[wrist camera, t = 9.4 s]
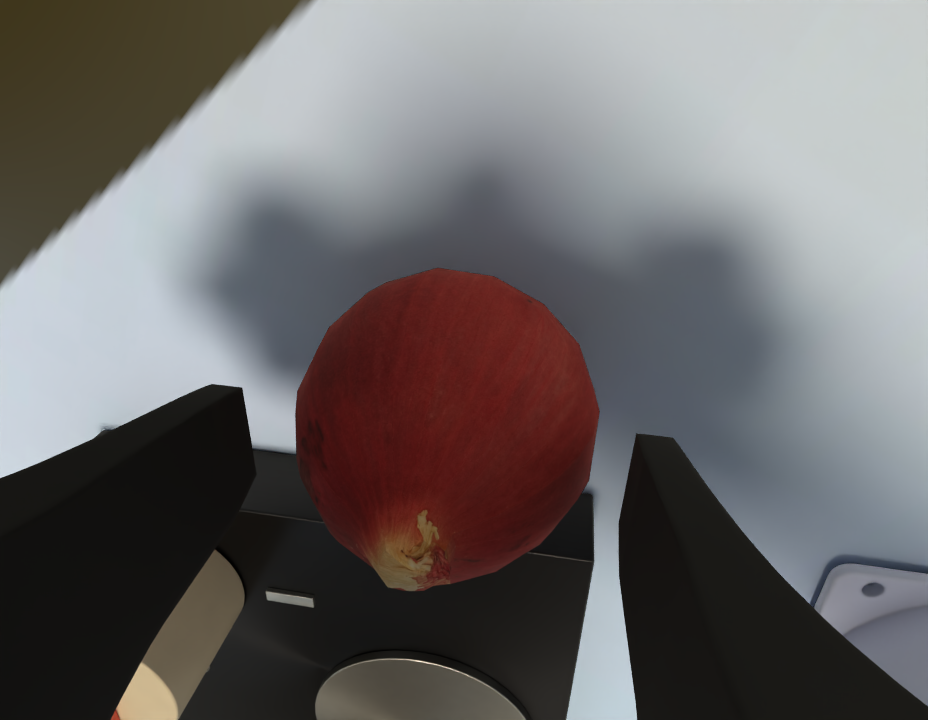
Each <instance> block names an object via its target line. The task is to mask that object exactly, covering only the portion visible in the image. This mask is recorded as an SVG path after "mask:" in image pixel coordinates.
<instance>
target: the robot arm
mask: <svg viewBox="0 0 928 720" xmlns="http://www.w3.org/2000/svg"><path fill="white" fill-rule="evenodd" d="M256 475H257V473H256V467H255V461H254V455H253V449H252V443H251V437H250V431H249V425H248V419H247V414H246V408H245V402H244V396H243V390H242V388H241V387H232V386H224V385H215V384H211V385H208V386H206V387H203V388H200V389H198V390H196V391H193V392H191V393H189V394H187V395H184V396H182V397H180V398H178V399H176V400H174V401H172V402H169V403H167V404H165V405H163V406H161V407H159V408H157V409H155V410H153V411H151V412H149V413H147V414H145V415H143V416H141V417H138V418H136V419H134V420H132V421H130V422H128V423H126V424H124V425H122V426H120V427H118V428H116V429H114V430H112V431H109V432H107V433H105V434H103V435H101V436H99V437H97V438H94V439H92V440H90V441H88V442H85V443H83V444H81V445H79V446H76V447H74V448H72V449H70V450H67V451H65V452H63V453H61V454H58V455H56V456H54V457H52V458H49V459H47V460H45V461H43V462H40V463H38V464H35V465H33V466H31V467H28V468H26V469H23V470H21V471H18V472H15V473H13V474H10V475H8V476H5V477H2V478H0V720H111V718H112V716H113V714H114V712H115V710H116V708H117V706H118V704H119V702H120V700H121V698H122V697H123V695H124V693H125V691H126V689H127V687H128V686H129V684H130V682H131V680H132V678H133V676H134V675H135V673H136V671H137V669H138V667H139V665H140V664H141V662H142V660H143V658H144V656H145V655H146V653H147V651H148V649H149V647H150V645H151V644H152V642H153V641H154V639H155V637H156V636H157V634H158V633H159V631H160V629H161V628H162V626H163V625H164V623H165V621H166V620H167V619H168V617H169V616H170V614H171V613H172V611H173V610H174V608H175V607H176V605H177V604H178V603H179V601H180V600H181V598H182V597H183V595H184V594H185V592H186V591H187V589H188V588H189V586H190V585H191V584H192V582H193V581H194V579H195V578H196V576H197V575H198V573H199V572H200V570H201V569H202V568H203V566H204V565H205V563H206V562H207V560H208V559H209V557H210V556H211V554H212V553H213V551H214V550H215V548H216V547H217V545H218V544H219V543H220V541H221V540H222V538H223V537H224V535H225V534H226V532H227V531H228V529H229V527H230V526H231V524H232V523H233V521H234V520H235V518H236V516H237V514H238V512H239V510H240V508H241V506H242V504H243V502H244V500H245V498H246V496H247V494H248V492H249V490H250V488H251V486H252V483H253V481H254V479H255V477H256ZM619 578H620V586H621V594H622V602H623V610H624V618H625V625H626V633H627V640H628V648H629V655H630V663H631V670H632V678H633V685H634V693H635V700H636V710H637V720H928V574H925V573H918V572H910V571H903V570H896V569H889V568H882V567H874V566H867V565H860V564H842V565H838V566H837V567H835V568H833V569H832V570H831V572H830V573H829V574H828V576H827V579H826V581H825V583H824V586H823V588H822V590H821V593H820V595H819V597H818V599H817V602H816V604H815V606H814V608H813V607H812V606H811V605H810V604H809V603H808V602H807V601H806V600H805V599H804V598H803V597H802V596H801V595H800V594H799V593H798V592H797V591H796V590H795V589H794V588H793V587H792V586H791V585H790V584H789V583H788V582H787V581H786V580H785V579H784V578H783V577H782V576H781V575H780V574H779V573H778V572H777V571H776V570H775V569H774V567H773V566H772V565H771V564H770V563H769V562H768V561H767V560H766V558H765V557H764V556H763V555H762V554H761V553H760V552H759V551H758V549H757V548H756V547H755V546H754V545H753V544H752V542H751V541H750V540H749V539H748V538H747V536H746V535H745V534H744V533H743V532H742V530H741V529H740V528H739V526H738V525H737V524H736V523H735V521H734V520H733V519H732V518H731V516H730V515H729V514H728V512H727V511H726V510H725V509H724V507H723V506H722V505H721V504H720V502H719V501H718V500H717V498H716V497H715V496H714V494H713V493H712V492H711V490H710V489H709V487H708V486H707V485H706V483H705V482H704V480H703V479H702V478H701V476H700V475H699V473H698V472H697V471H696V469H695V468H694V466H693V465H692V463H691V462H690V461H689V459H688V458H687V456H686V455H685V453H684V452H683V450H682V449H681V448H680V446H679V445H678V443H677V442H676V441H675V440H674V438H671V437H663V436H654V435H645V434H637V433H636V438H635V443H634V448H633V453H632V458H631V463H630V468H629V473H628V478H627V483H626V489H625V494H624V499H623V504H622V509H621V514H620V519H619ZM869 583H874V584H871V585H867V584H869Z"/></svg>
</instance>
